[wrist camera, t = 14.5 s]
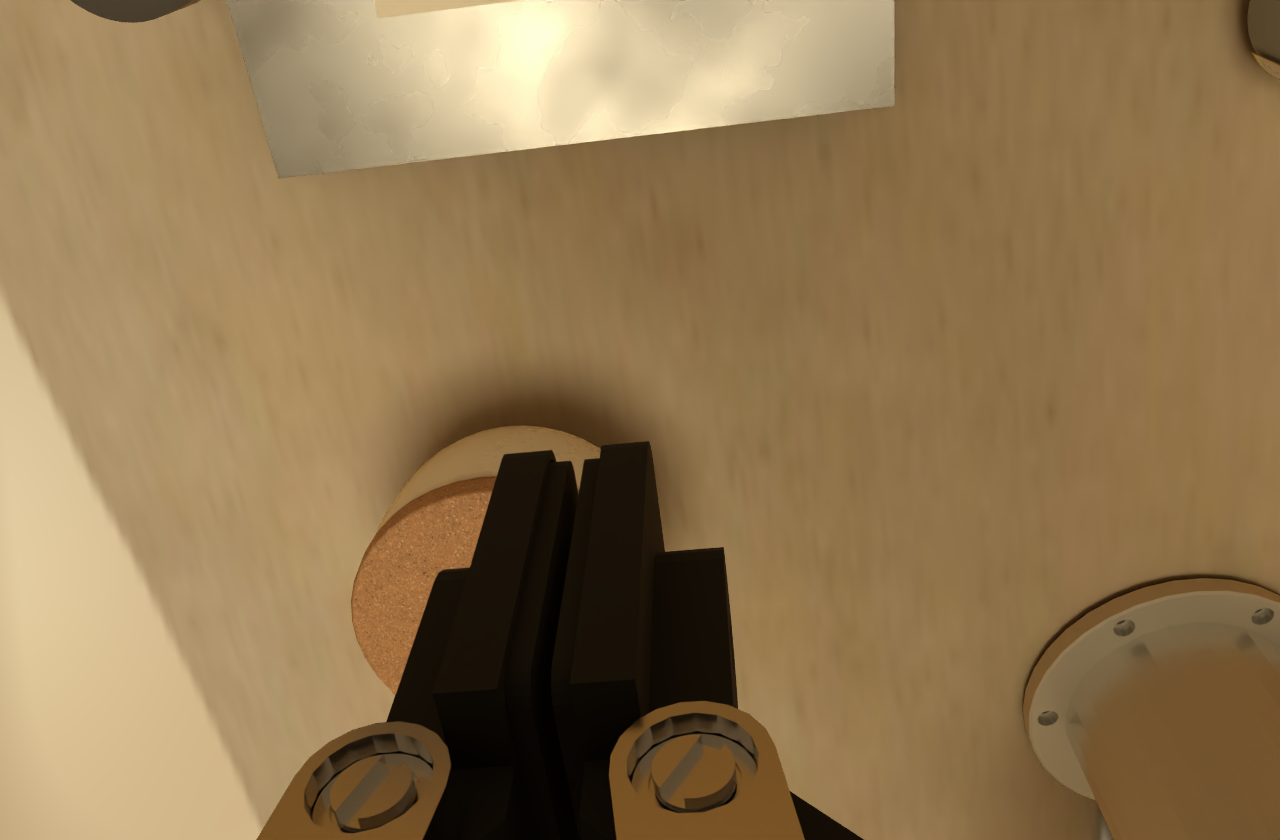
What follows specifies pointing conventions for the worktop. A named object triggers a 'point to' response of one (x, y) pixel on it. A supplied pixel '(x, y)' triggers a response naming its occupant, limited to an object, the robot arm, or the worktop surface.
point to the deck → (546, 72)
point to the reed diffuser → (1265, 34)
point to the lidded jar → (437, 535)
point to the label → (424, 6)
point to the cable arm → (132, 8)
